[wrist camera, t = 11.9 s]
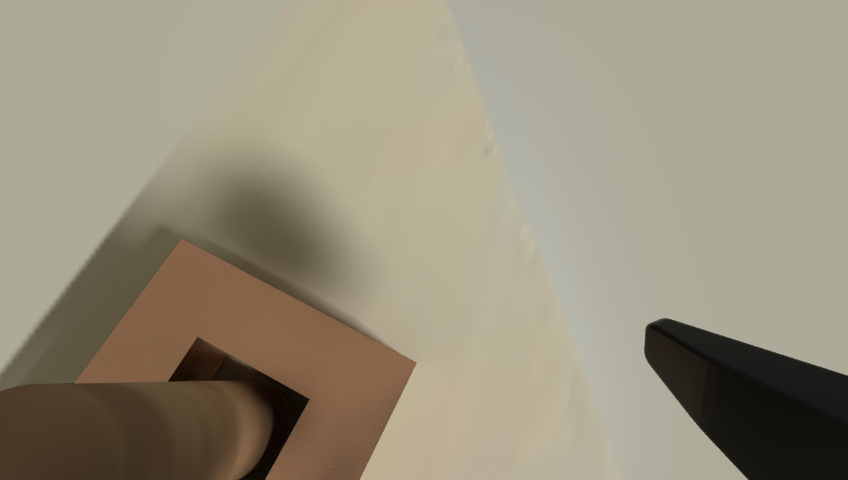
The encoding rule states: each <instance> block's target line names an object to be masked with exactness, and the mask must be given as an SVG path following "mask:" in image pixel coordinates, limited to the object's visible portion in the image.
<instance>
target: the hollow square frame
mask: <svg viewBox="0 0 848 480" xmlns="http://www.w3.org/2000/svg"><path fill="white" fill-rule="evenodd" d="M228 354H229V355H231V356H233V357H235V358H237V359H238V360H240V361H242V362H244V363H246V364H247V365H249V366H251V367H253V368H255V369H256V370H258V371H260V372H262V373H264V374H265V375H267V376H269V377H271V378H273V379H274V380H276V381H278V382H280V383H282V384H283V385H285V386H287V387H289V388H291V389H292V390H294V391H296V392H298V393H300V394H301V395H303V396H305V397H307V398H309V399H310V400H309V402H308V404H307V405H306V407H305V409H304V411H303V412H302V414H301V416H300V418H299V420H298V421H297V423H296V425H295V427H294V429H293V430H292V432H291V434H290V436H289V438H288V439H287V441H286V443H285V445H284V447H283V448H282V450H281V452H280V454H279V456H278V457H277V459H276V461H275V463H274V465H273V466H272V468H271V470H270V472H269V474H268V475H267V477H266V479H265V480H360V478H361V476H362V473H363V471H364V469H365V467H366V465H367V463H368V461H369V459H370V457H371V455H372V453H373V451H374V449H375V447H376V445H377V443H378V441H379V439H380V437H381V435H382V433H383V431H384V429H385V427H386V425H387V422H388V420H389V418H390V416H391V414H392V412H393V410H394V408H395V406H396V404H397V402H398V400H399V398H400V396H401V394H402V392H403V390H404V388H405V386H406V384H407V382H408V380H409V378H410V376H411V373H412V371H413V369H414V367H415V365H416V362H414V361H412V360H411V359H409V358H407V357H405V356H403V355H401V354H399V353H397V352H395V351H394V350H392V349H390V348H388V347H386V346H384V345H382V344H380V343H378V342H377V341H375V340H373V339H371V338H369V337H367V336H365V335H363V334H361V333H360V332H358V331H356V330H354V329H352V328H350V327H348V326H346V325H344V324H343V323H341V322H339V321H337V320H335V319H333V318H331V317H329V316H327V315H326V314H324V313H322V312H320V311H318V310H316V309H314V308H312V307H310V306H308V305H307V304H305V303H303V302H301V301H299V300H297V299H295V298H293V297H291V296H290V295H288V294H286V293H284V292H282V291H280V290H278V289H276V288H274V287H273V286H271V285H269V284H267V283H265V282H263V281H261V280H259V279H257V278H256V277H254V276H252V275H250V274H248V273H246V272H244V271H242V270H240V269H239V268H237V267H235V266H233V265H231V264H229V263H227V262H225V261H223V260H222V259H220V258H218V257H216V256H214V255H212V254H210V253H208V252H206V251H205V250H203V249H201V248H199V247H197V246H195V245H193V244H191V243H189V242H188V241H186V240H184V239H182V238H181V240H180V241H179V243H178V244H177V245H176V247H175V248H174V249H173V251H172V252H171V253H170V255H169V256H168V257H167V259H166V260H165V261H164V263H163V264H162V265H161V267H160V268H159V269H158V271H157V272H156V274H155V275H154V276H153V278H152V279H151V280H150V282H149V283H148V284H147V286H146V287H145V288H144V290H143V291H142V292H141V294H140V295H139V296H138V298H137V299H136V300H135V302H134V303H133V305H132V306H131V307H130V309H129V310H128V311H127V313H126V314H125V315H124V317H123V318H122V319H121V321H120V322H119V323H118V325H117V326H116V327H115V329H114V330H113V331H112V333H111V334H110V336H109V337H108V338H107V340H106V341H105V342H104V344H103V345H102V346H101V348H100V349H99V350H98V352H97V353H96V354H95V356H94V357H93V358H92V360H91V361H90V362H89V364H88V365H87V367H86V368H85V369H84V371H83V372H82V373H81V375H80V376H79V377H78V379H77V380H76V381H75V383H125V382H177V381H211V380H212V378H213V376H214V375H215V373H216V372H217V370H218V369H219V367H220V365H221V364H222V362H223V361H224V359H225V358H226V356H227V355H228Z"/></svg>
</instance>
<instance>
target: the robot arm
mask: <svg viewBox="0 0 848 480" xmlns="http://www.w3.org/2000/svg"><path fill="white" fill-rule="evenodd" d="M644 352H645V357H646V359H647V361H648V363H649V364H650V366H651V367H652V368H653V369H654V371H655V372H656V373H657V375H659V377H660V378H661V380H662V381H663V382H664V383H665V385H666V386H667V387H668V389H669V390H670V391H671V392H672V394H673V395H674V396H675V398H676V399H677V400H678V401H679V403H680V404H681V405H682V407H683V408H684V409H685V410H686V412H687V413H688V414H689V415H690V417H691V418H692V419H693V420H694V422H695V423H696V424H697V425H698V426H699V427H700V429H701V430H702V431H703V432H704V433H705V434H706V435H707V436H708V437H709V438H710V439H711V441H712V442H713V443H714V444H715V445H716V446H717V447H718V448H719V449H720V450H721V451H722V452H723V453H724V454H725V455H726V457H727V458H728V459H729V460H730V461H731V462H732V463H733V464H734V465H735V466H736V467H737V468H738V469H739V470H740V471H741V472H742V473H743V475H744V476H745V477H746V478H747V479H748V480H848V376H847V375H844V374H841V373H838V372H835V371H831V370H828V369H825V368H822V367H819V366H816V365H813V364H810V363H806V362H803V361H800V360H797V359H794V358H790V357H788V356H784V355H781V354H778V353H775V352H772V351H769V350H766V349H763V348H759V347H756V346H753V345H750V344H747V343H743V342H740V341H737V340H734V339H731V338H728V337H725V336H722V335H719V334H715V333H712V332H709V331H706V330H703V329H700V328H696V327H693V326H690V325H687V324H684V323H681V322H678V321H675V320H671V319H667V318H663V319H659V320H657V321H654V322H652V323H650V324H648V325H647V326H646V330H645V347H644Z"/></svg>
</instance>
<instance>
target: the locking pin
mask: <svg viewBox="0 0 848 480" xmlns="http://www.w3.org/2000/svg"><path fill="white" fill-rule="evenodd" d="M290 427H291V410H290V406H289V403H288V401H287V399H286V397H285V396H284V394H283V393H282V392H281V391H280V390H279V389H278V388H277V387H276V386H274V385H273V384H270V383H268V382H265V381H261V380H229V381H177V382H125V383H74V384H32V385H24V386H18V387H14V388H10V389H6V390H3V391H1V392H0V480H239V479H241V478H242V477H244V476H246V475H247V474H249V473H250V472H252V471H254V470H255V469H257V468H258V467H260V466H262V465H263V464H265V463H267V462H268V461H270V460H271V459H272V458H273V457H274V456H275V455H276V454H277V453H278V452H279V451H280V450H281V449H282V447H283V445H284V444H285V442H286V440H287V438H288V435H289V432H290Z"/></svg>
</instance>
